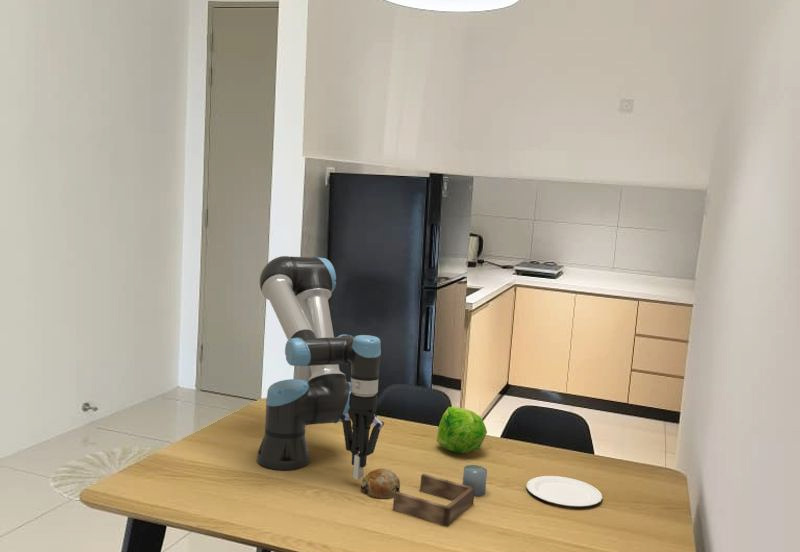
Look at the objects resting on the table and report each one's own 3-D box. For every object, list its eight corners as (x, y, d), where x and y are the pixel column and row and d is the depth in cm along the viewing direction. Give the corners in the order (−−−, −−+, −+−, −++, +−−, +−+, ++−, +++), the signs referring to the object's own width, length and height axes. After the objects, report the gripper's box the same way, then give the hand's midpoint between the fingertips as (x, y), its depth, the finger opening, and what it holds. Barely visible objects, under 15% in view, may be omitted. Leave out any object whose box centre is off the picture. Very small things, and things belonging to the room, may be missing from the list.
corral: (392, 509, 182) (394, 492, 181) (422, 489, 196) (423, 473, 195) (447, 526, 174) (448, 508, 174) (473, 504, 189) (474, 487, 188)
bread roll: (386, 514, 187) (401, 489, 186) (353, 492, 189) (368, 468, 187) (394, 499, 197) (408, 476, 196) (363, 479, 198) (377, 455, 197)
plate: (603, 489, 207) (604, 484, 207) (599, 517, 187) (600, 511, 187) (531, 475, 214) (532, 470, 213) (520, 501, 194) (520, 495, 194)
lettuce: (469, 440, 242) (484, 404, 239) (479, 470, 223) (495, 432, 220) (429, 427, 240) (443, 392, 237) (434, 457, 221) (450, 419, 218)
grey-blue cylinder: (458, 492, 196) (460, 469, 195) (467, 485, 201) (469, 463, 201) (479, 498, 193) (481, 475, 192) (488, 491, 198) (490, 468, 198)
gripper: (335, 391, 193) (330, 475, 196) (377, 400, 187) (371, 487, 189) (350, 386, 200) (345, 468, 202) (391, 394, 194) (385, 479, 196)
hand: (357, 477), depth 196 cm, fingers closed
